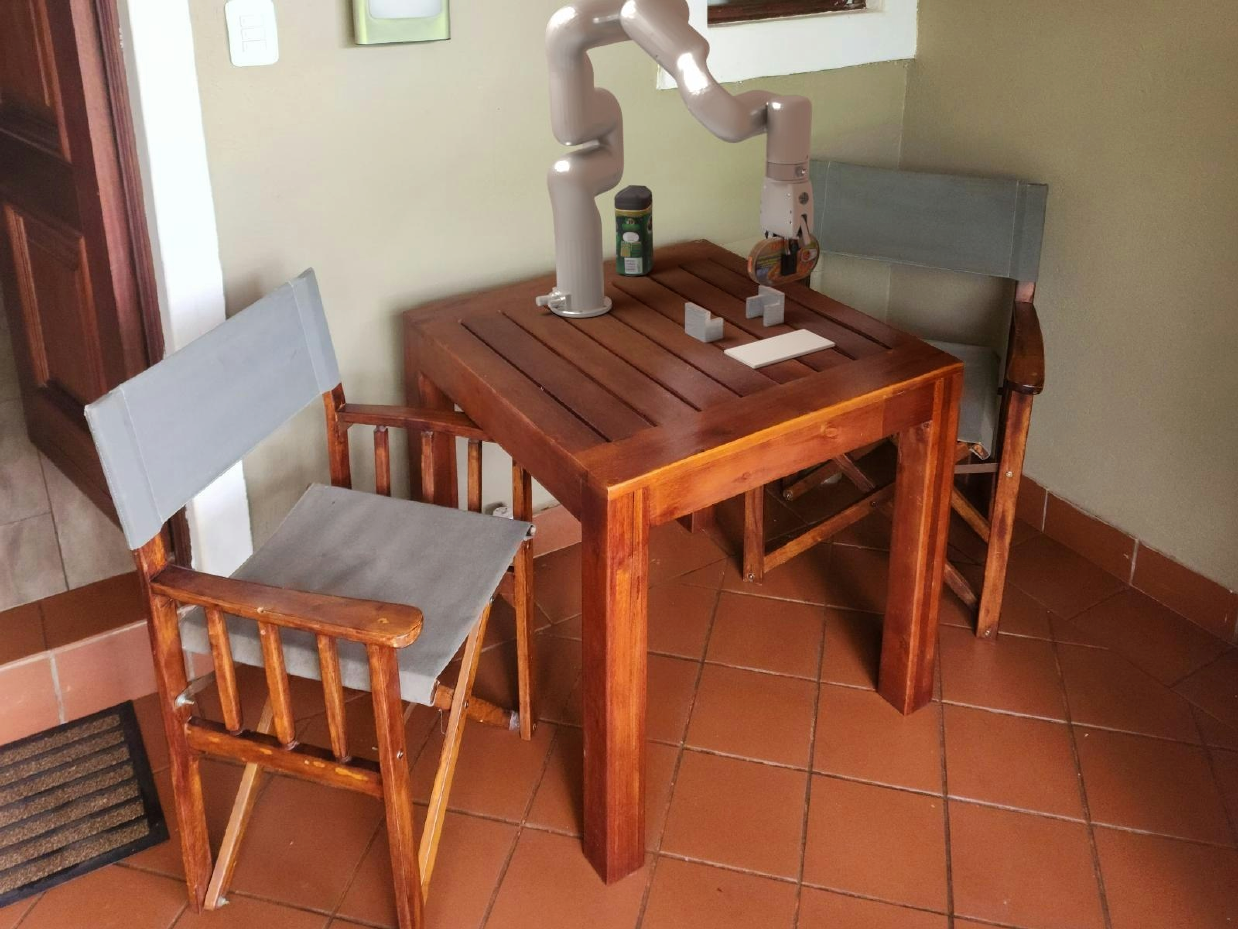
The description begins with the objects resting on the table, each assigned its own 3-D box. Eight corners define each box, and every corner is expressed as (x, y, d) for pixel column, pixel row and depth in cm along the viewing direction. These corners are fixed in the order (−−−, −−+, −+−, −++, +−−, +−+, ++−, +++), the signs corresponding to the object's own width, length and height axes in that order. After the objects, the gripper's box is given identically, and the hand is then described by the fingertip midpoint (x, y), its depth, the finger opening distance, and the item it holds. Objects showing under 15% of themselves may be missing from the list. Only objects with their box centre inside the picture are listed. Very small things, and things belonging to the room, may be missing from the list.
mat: (754, 368, 211) (754, 365, 211) (724, 353, 218) (724, 350, 218) (834, 346, 220) (834, 343, 220) (803, 331, 227) (803, 328, 227)
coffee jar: (622, 262, 267) (621, 181, 259) (656, 264, 265) (656, 183, 257) (611, 276, 259) (609, 192, 250) (646, 278, 257) (645, 194, 249)
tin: (753, 291, 209) (756, 245, 204) (743, 285, 211) (745, 240, 207) (818, 275, 216) (823, 230, 211) (807, 269, 218) (812, 226, 214)
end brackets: (783, 322, 232) (784, 293, 229) (704, 342, 223) (705, 313, 220) (762, 312, 237) (763, 284, 234) (685, 332, 228) (685, 303, 225)
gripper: (834, 176, 199) (828, 280, 208) (774, 158, 212) (770, 257, 220) (800, 182, 196) (795, 288, 205) (741, 164, 208) (738, 264, 217)
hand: (782, 271), depth 212 cm, fingers closed on tin, 2 cm apart
